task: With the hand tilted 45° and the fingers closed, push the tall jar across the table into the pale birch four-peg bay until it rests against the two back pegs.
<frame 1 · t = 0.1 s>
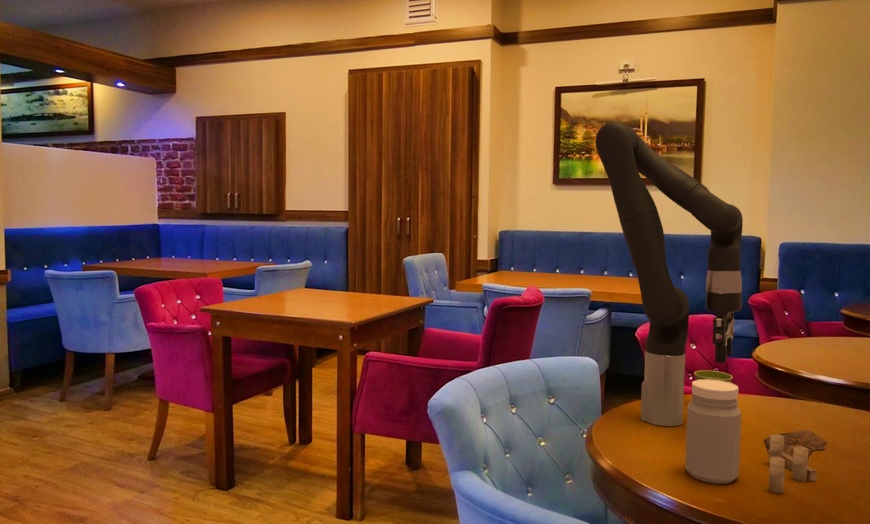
hand: (723, 358, 149), 17 cm above the table, tool pointing down, fingers open, 8 cm apart
jar: (711, 476, 124), on the table
peg bay: (763, 472, 126), on the table
wooden fragment: (794, 446, 142), on the table
plant pot: (711, 407, 170), on the table
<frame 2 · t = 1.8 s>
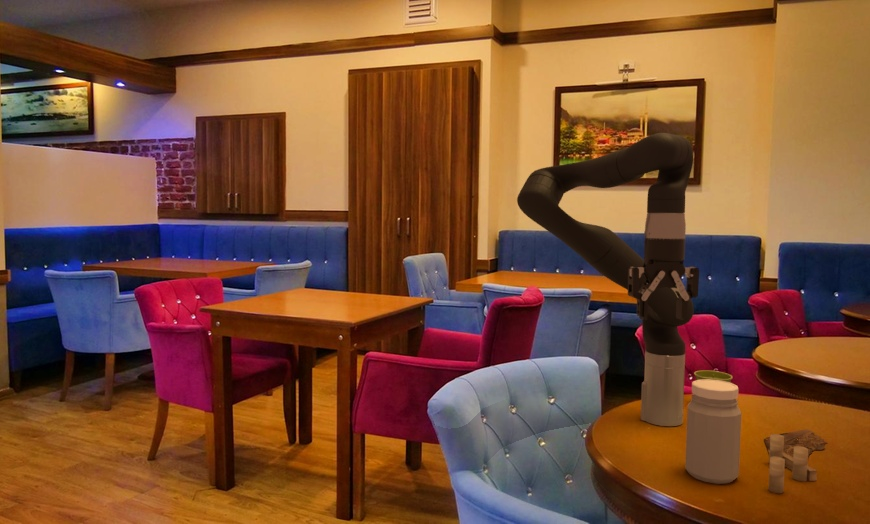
hand: (661, 318, 127), 30 cm above the table, tool pointing down, fingers open, 7 cm apart
nothing on the table moved.
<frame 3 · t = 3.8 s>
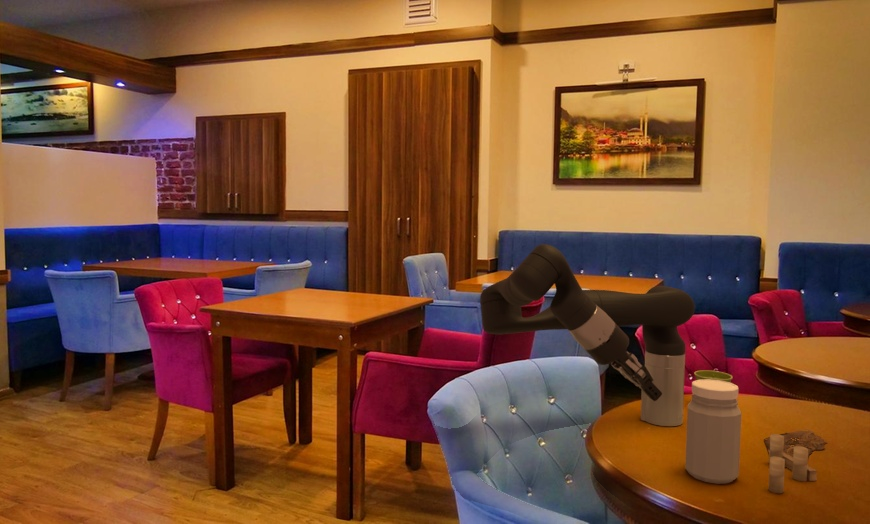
hand: (657, 396, 121), 16 cm above the table, tool tilted 45°, fingers closed
nothing on the table moved.
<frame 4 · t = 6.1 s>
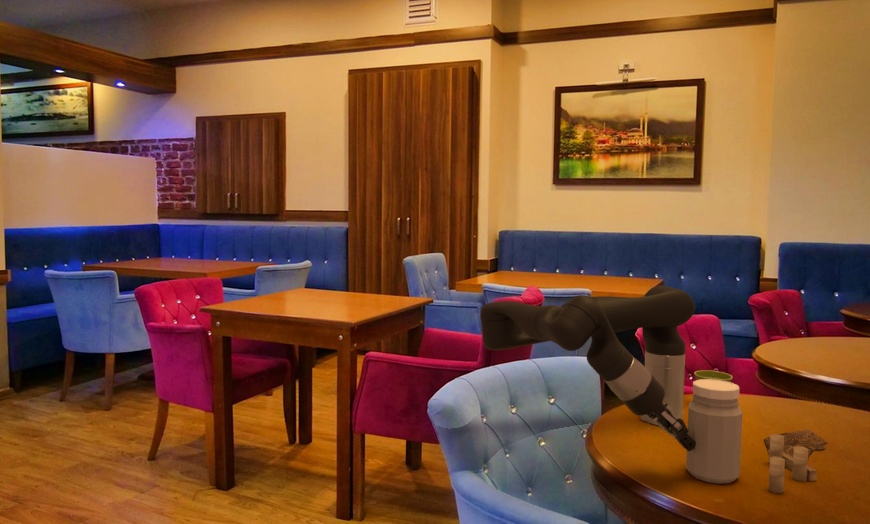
hand: (691, 446, 122), 6 cm above the table, tool tilted 45°, fingers closed
jar: (712, 476, 124), on the table, touching gripper
everything else where it was.
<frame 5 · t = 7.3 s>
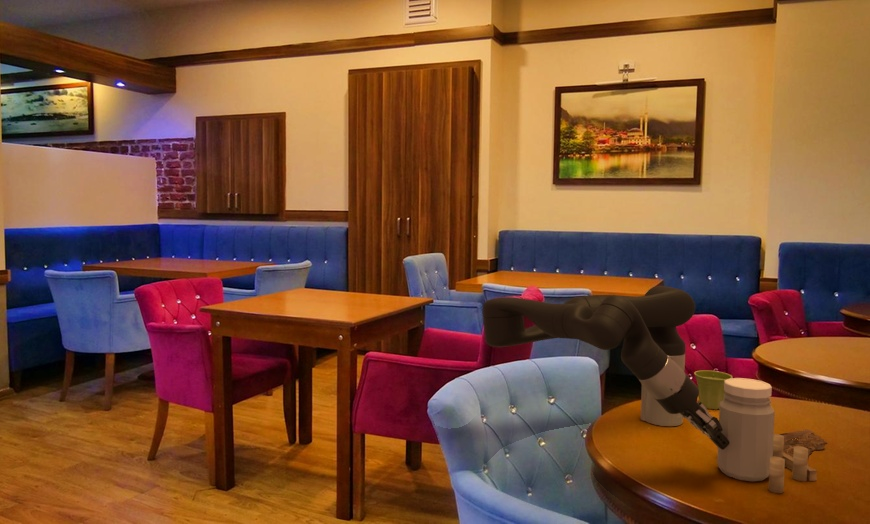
hand: (724, 445, 123), 6 cm above the table, tool tilted 45°, fingers closed
jar: (743, 473, 125), on the table, touching gripper
everything else where it was.
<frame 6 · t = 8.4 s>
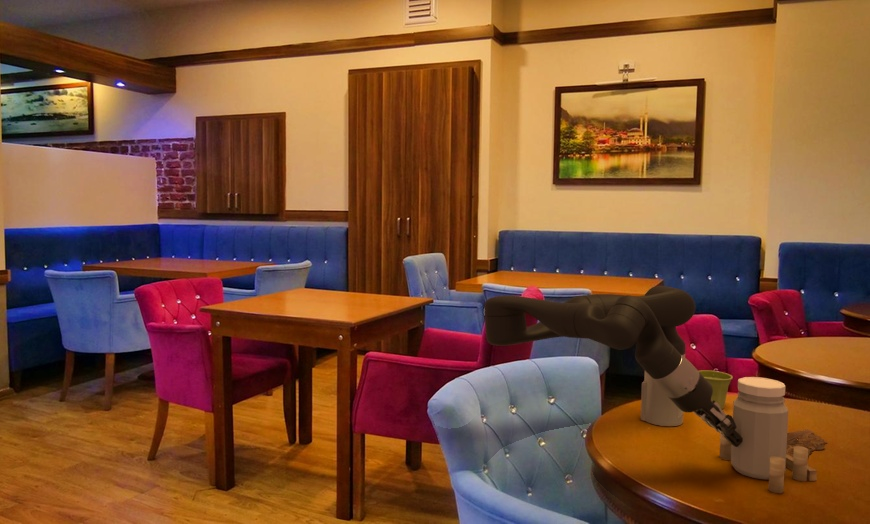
hand: (738, 442, 124), 6 cm above the table, tool tilted 45°, fingers closed
jar: (757, 472, 126), on the table, touching gripper
everything else where it was.
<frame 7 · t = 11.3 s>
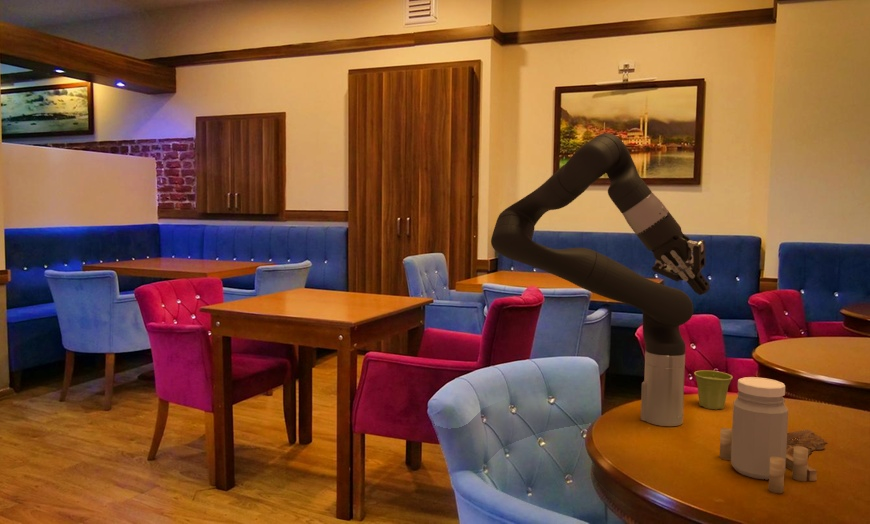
hand: (705, 292, 125), 36 cm above the table, tool tilted 40°, fingers closed
jar: (757, 472, 126), on the table
everything else where it was.
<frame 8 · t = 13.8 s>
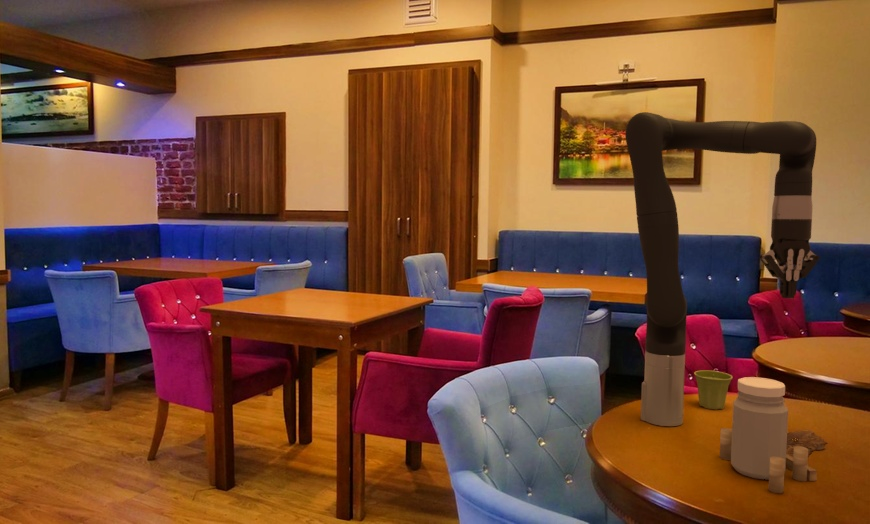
hand: (787, 297, 137), 33 cm above the table, tool pointing down, fingers closed
nothing on the table moved.
at the end: jar inside the target area on the peg bay (1.1 cm from its centre), point 0.0 cm above the peg bay's base; jar tilted 0°; jar moved 10.2 cm from its start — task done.
